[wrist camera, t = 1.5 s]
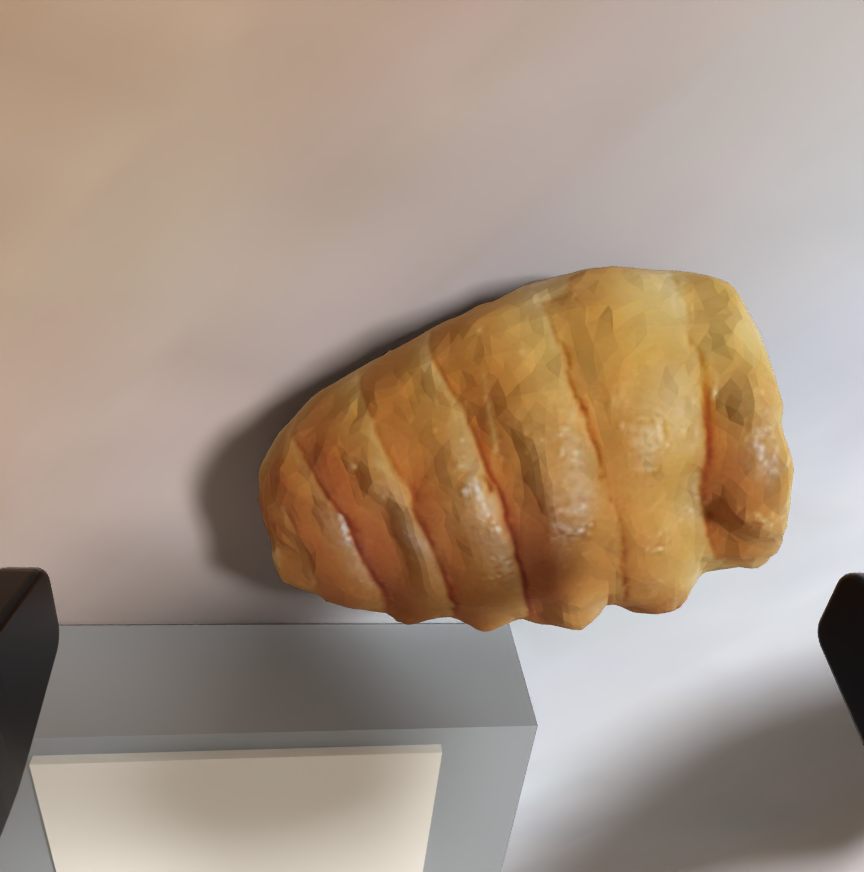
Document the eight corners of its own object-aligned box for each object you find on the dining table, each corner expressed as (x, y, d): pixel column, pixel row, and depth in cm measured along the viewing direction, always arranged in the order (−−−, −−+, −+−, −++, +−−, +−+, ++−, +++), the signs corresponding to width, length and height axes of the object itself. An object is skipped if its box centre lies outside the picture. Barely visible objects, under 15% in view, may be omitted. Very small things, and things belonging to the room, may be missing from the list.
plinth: (508, 623, 18) (539, 733, 15) (452, 899, 24) (468, 1015, 21) (-19, 625, 16) (-92, 750, 14) (59, 922, 22) (19, 1052, 19)
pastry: (324, 605, 17) (319, 753, 14) (206, 348, 13) (161, 467, 10) (726, 503, 16) (819, 631, 13) (716, 209, 13) (839, 286, 10)
